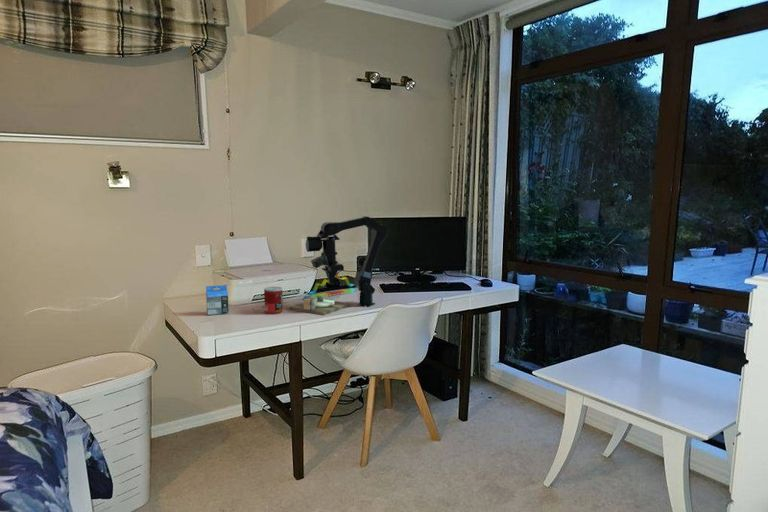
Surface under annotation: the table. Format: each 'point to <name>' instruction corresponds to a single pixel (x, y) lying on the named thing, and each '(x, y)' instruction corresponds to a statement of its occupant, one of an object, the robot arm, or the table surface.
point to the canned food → (273, 300)
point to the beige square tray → (322, 310)
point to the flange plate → (318, 302)
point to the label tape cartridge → (217, 300)
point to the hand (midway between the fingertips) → (330, 283)
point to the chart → (331, 292)
